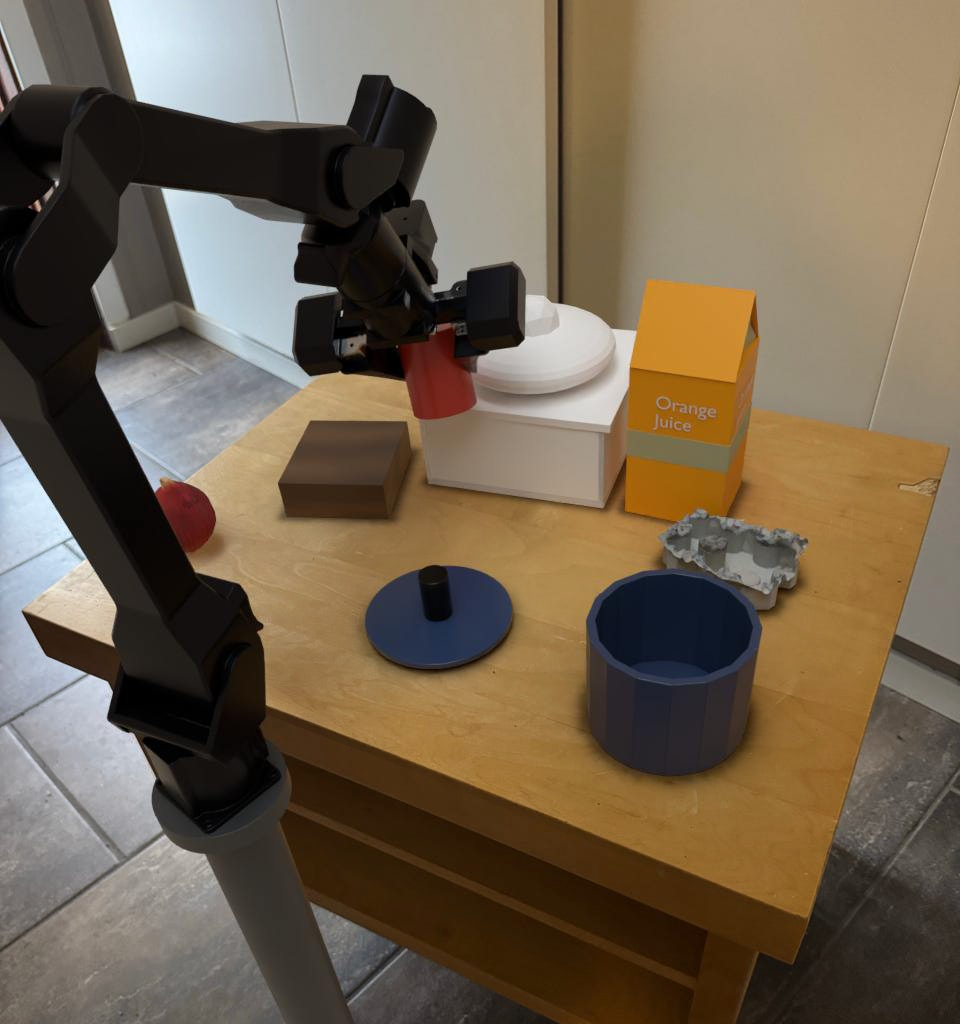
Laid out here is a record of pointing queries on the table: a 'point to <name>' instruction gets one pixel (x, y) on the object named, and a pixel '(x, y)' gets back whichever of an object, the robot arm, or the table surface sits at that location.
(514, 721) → the table surface
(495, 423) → the white box with dome
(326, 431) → the block
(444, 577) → the lid
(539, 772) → the table surface
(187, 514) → the onion
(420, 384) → the tomato can
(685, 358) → the orange juice
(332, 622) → the table surface
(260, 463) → the table surface
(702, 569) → the egg carton
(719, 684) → the pot
